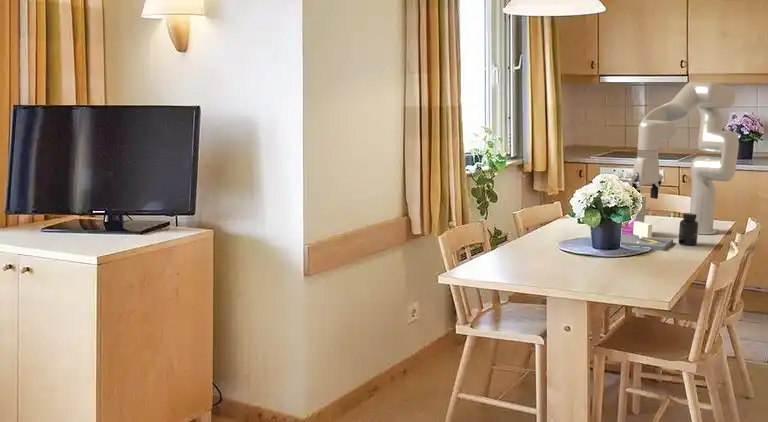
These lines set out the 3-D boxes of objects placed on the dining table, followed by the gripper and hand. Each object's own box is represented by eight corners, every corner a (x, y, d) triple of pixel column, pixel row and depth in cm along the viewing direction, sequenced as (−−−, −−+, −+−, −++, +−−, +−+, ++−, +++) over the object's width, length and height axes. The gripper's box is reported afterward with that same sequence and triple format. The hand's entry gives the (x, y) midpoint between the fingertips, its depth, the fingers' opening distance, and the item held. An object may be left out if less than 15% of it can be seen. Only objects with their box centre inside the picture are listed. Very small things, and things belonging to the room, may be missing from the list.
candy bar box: (614, 232, 366) (616, 193, 363) (622, 231, 369) (624, 192, 366) (635, 237, 357) (638, 196, 354) (643, 236, 360) (646, 196, 357)
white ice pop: (632, 237, 347) (633, 221, 346) (636, 236, 348) (637, 221, 347) (655, 243, 336) (656, 226, 335) (659, 242, 336) (660, 226, 335)
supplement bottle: (698, 246, 341) (700, 215, 339) (679, 245, 342) (681, 214, 340) (695, 243, 347) (697, 212, 346) (677, 242, 349) (679, 211, 347)
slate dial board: (621, 237, 356) (621, 233, 356) (673, 242, 347) (673, 238, 347) (609, 244, 341) (609, 240, 341) (663, 250, 331) (663, 246, 331)
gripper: (655, 152, 346) (653, 196, 349) (623, 154, 337) (621, 199, 340) (671, 154, 340) (668, 199, 343) (638, 156, 331) (636, 202, 334)
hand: (645, 199), depth 341 cm, fingers open, 9 cm apart
